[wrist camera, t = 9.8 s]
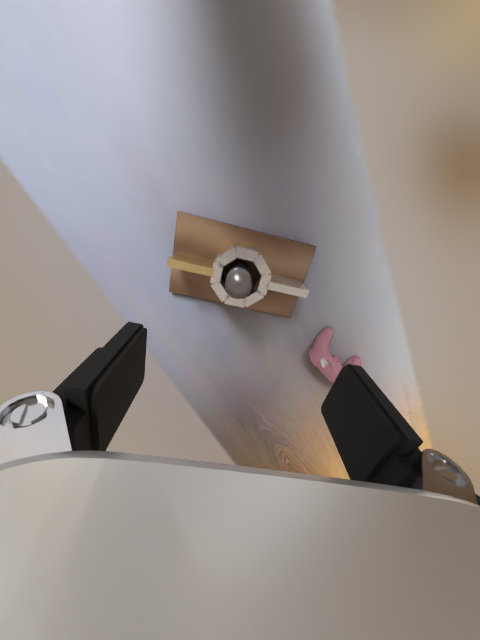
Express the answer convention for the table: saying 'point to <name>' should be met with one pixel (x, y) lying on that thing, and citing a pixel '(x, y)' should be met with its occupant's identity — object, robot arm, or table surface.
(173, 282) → the mounting board
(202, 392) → the table surface
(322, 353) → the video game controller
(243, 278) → the hinge pin
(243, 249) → the hinge
